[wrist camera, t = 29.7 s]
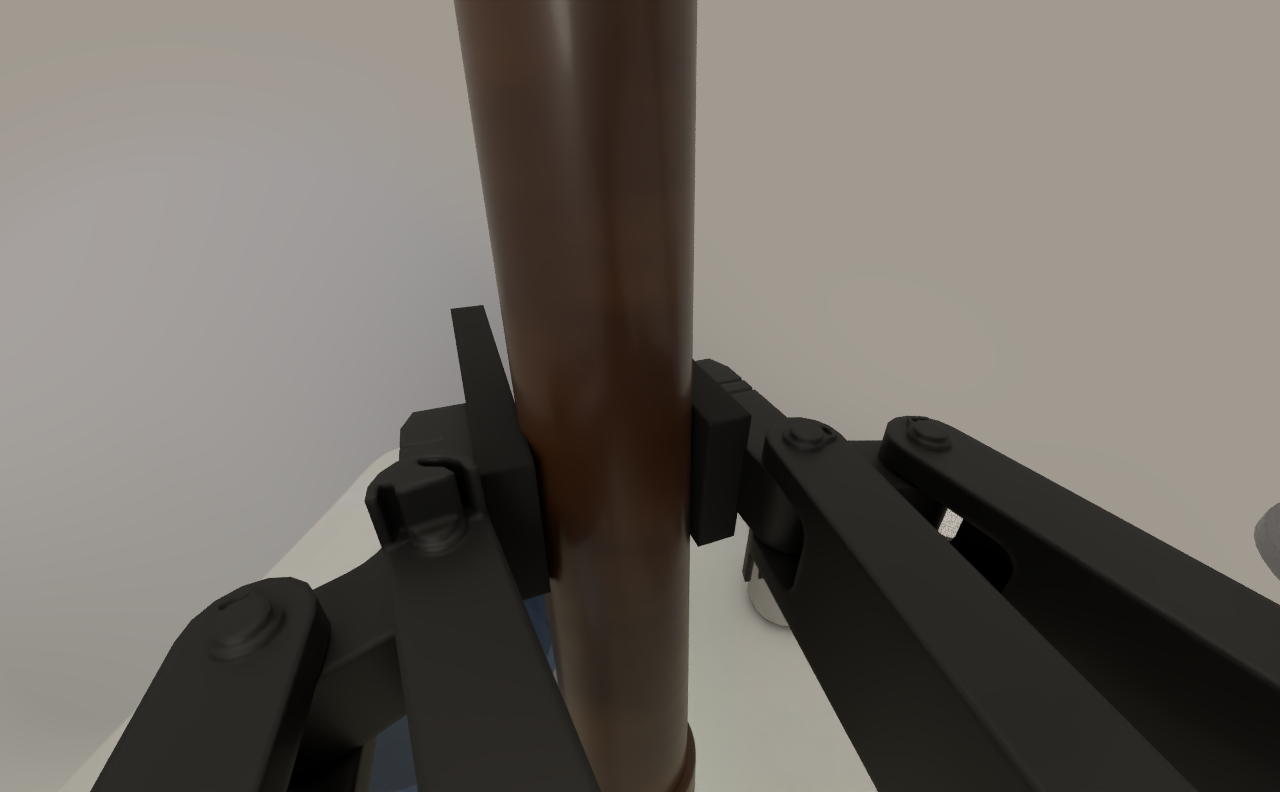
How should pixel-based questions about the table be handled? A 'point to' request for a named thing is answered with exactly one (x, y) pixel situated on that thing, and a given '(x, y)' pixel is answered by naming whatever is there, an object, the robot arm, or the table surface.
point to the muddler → (600, 343)
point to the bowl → (393, 750)
